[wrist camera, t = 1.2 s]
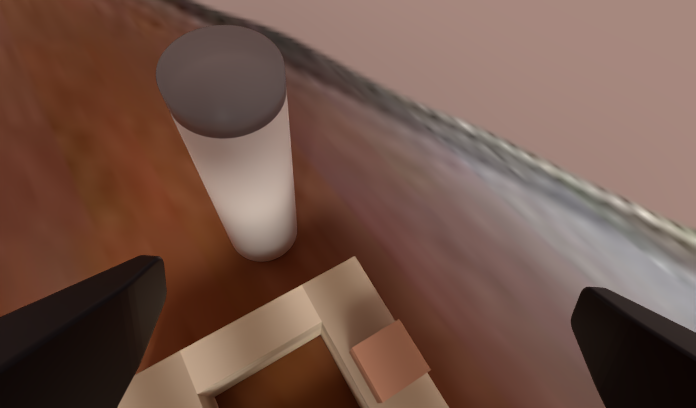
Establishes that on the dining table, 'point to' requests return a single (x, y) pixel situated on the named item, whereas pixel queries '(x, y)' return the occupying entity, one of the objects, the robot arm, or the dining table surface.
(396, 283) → the dining table surface
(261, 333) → the socket board
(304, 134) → the dining table surface
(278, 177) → the plug
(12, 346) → the robot arm
